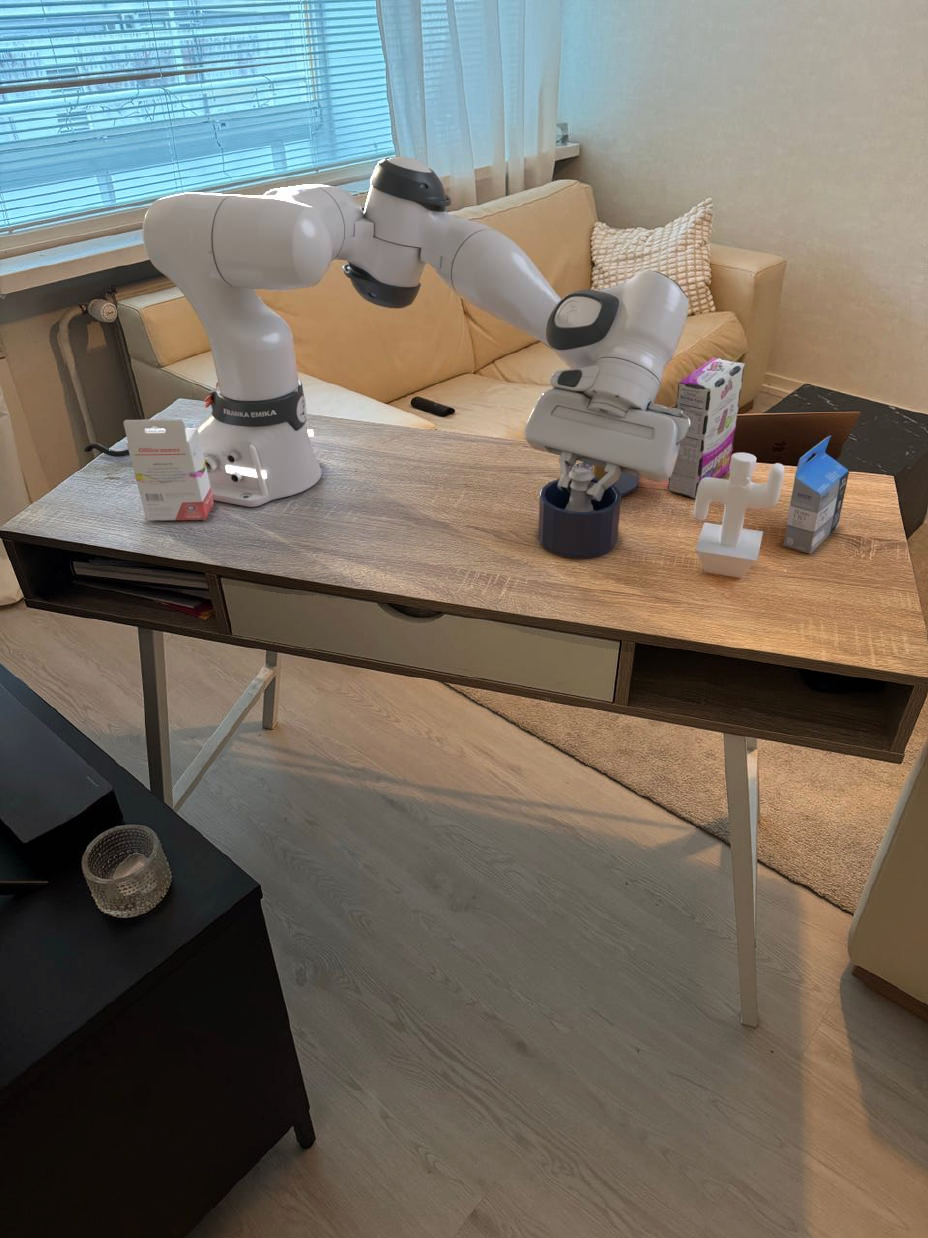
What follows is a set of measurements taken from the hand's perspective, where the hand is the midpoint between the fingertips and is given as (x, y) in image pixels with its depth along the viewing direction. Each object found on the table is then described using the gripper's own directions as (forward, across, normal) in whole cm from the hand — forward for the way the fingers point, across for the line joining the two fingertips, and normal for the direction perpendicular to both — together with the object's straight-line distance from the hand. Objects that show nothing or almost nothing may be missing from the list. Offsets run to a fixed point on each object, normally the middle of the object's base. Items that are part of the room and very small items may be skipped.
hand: (577, 494), depth 116 cm
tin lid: (-7, +5, -16) cm, 18 cm away
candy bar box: (-12, -7, -22) cm, 26 cm away
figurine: (+2, -19, -8) cm, 21 cm away
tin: (+4, 0, -5) cm, 7 cm away
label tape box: (-7, -25, -17) cm, 31 cm away
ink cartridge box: (+21, +50, +12) cm, 55 cm away
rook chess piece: (+3, 0, -4) cm, 5 cm away
